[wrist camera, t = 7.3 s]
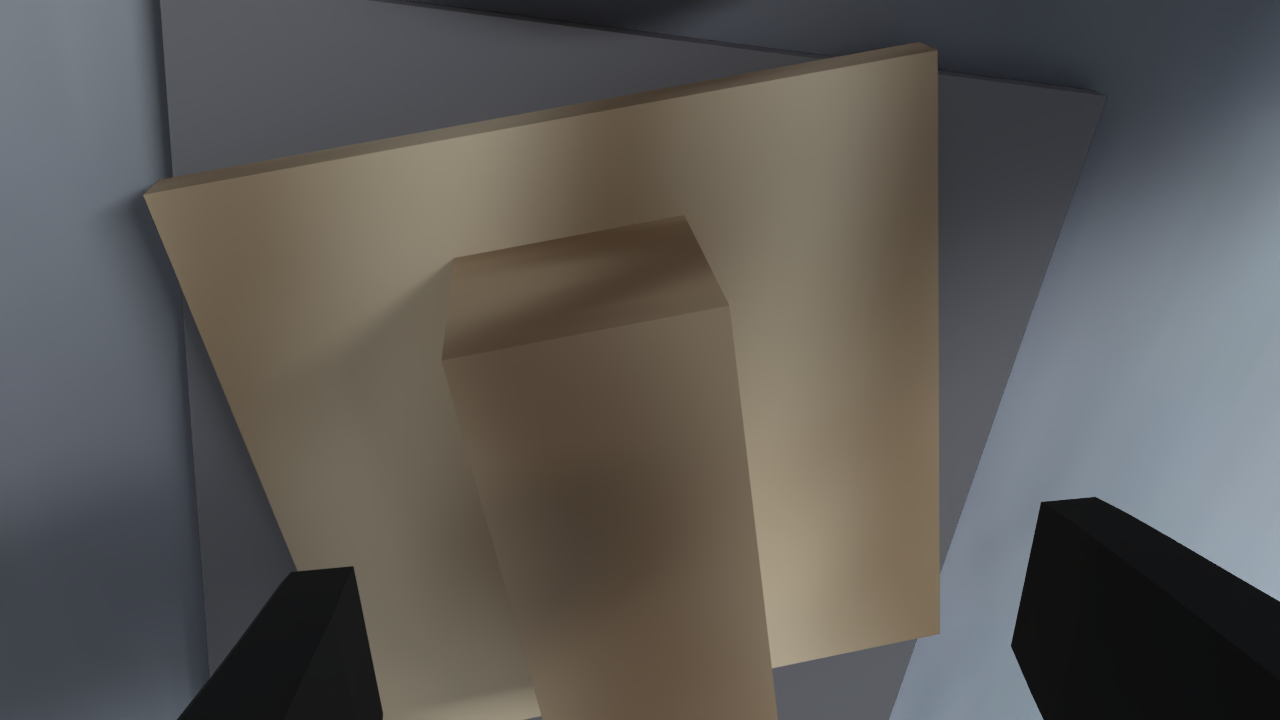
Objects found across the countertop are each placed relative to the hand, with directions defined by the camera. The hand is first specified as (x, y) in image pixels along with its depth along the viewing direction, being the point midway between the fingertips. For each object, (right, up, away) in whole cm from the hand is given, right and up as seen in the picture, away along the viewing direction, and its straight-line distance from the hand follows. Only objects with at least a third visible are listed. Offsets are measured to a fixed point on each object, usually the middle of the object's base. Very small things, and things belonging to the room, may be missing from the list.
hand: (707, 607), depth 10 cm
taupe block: (-1, +1, +9) cm, 9 cm away
